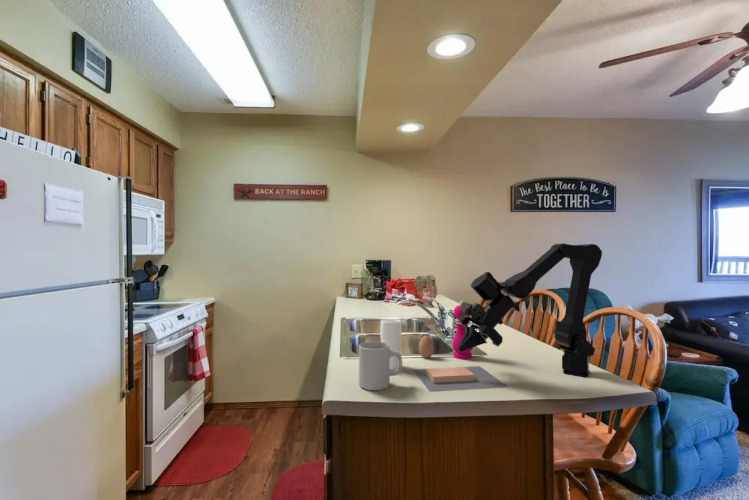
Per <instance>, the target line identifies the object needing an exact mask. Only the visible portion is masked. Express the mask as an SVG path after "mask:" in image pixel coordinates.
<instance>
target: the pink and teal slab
mask: <svg viewBox="0 0 749 500" xmlns="http://www.w3.org/2000/svg"><path fill="white" fill-rule="evenodd" d="M465 367H466V366H455V367H454V368H453V367H435V368H433V367H432V368H433V369H432V368H425V369H426V375H427V377H428V378H429V379H430V380H431V381H432V382H433V383H450V382H469V381H475V375H474V374H473V373H472V372H470V371H469V370H468V369H467V368H465Z"/></svg>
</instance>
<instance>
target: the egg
mask: <svg viewBox="0 0 749 500" xmlns="http://www.w3.org/2000/svg"><path fill="white" fill-rule="evenodd" d="M418 352H419V354H420V357H422V358H423V359H429V358H432V356H433V353H434V342H433V340H432V338H431V337H430V336H429V335H423V336H422V337H421V339H420V340H419V343H418Z"/></svg>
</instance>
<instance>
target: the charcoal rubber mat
mask: <svg viewBox="0 0 749 500" xmlns="http://www.w3.org/2000/svg"><path fill="white" fill-rule="evenodd" d="M464 367H465V368H467V369H468V370H469V371H470V372H472V373H473V374H474V375H475V381H469V382H450V383H433V382H432V381H431V380H430V379H429V378H428V377H427V375H426V369H427V368H417V369H415V368H413V369H412V370H413V372H414V374H415V375H416V376H417V377H418V379H419V380H420V381H421V382H422V384H423V385H424V387H426V389H427V390H428V391H429V393H431V392H433V393H434V392H447V391H448V392H449V391H464V390H465V391H466V390H467V391H469V390H484V389H487V390H488V389H500V388H502V389H503V388H509V385H507V384H506V383H504V382H503V381H501V380H500V379H498V378H497V377H496V376H494V375H493V374H491V373H490V371H489V372H488V371H487V370H485V368H483V367H482V366H479V365H478V366H477V365H476V366H474V365H473V366H464ZM452 368H454V367H453V366H452ZM431 369H433V367H431Z"/></svg>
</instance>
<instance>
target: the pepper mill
mask: <svg viewBox="0 0 749 500" xmlns="http://www.w3.org/2000/svg"><path fill="white" fill-rule="evenodd" d="M463 302H465V301H464V300H460V301H459V304H458V305H456V306H455V307H454V309H453V315H454V317H455V319H454V322H455V325H456V332H455V335H454V337H453V339H452V342H451V348H452V349H453V350H454V351H453V355H452V356H453V358H454V359H456V360H457V359H458V360H464V361H465V360H466V361H467V360H472V358H473V354H472V352H471V351H473V349H474V347H473V348H470V349H468V350H465V351H462V352H461V351H459V350H458V347H459V345H460V343H461V341H462V339H463V337H464V334H465V327H464V326H463V324H462V323H461V322H460V321H459V320H458V319H459V318H460V317H461V315H466V316H469V317H471V316H470V315H467V314H465V313H462V312H460V311H459V310H460V308H461V306H462V303H463Z"/></svg>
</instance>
